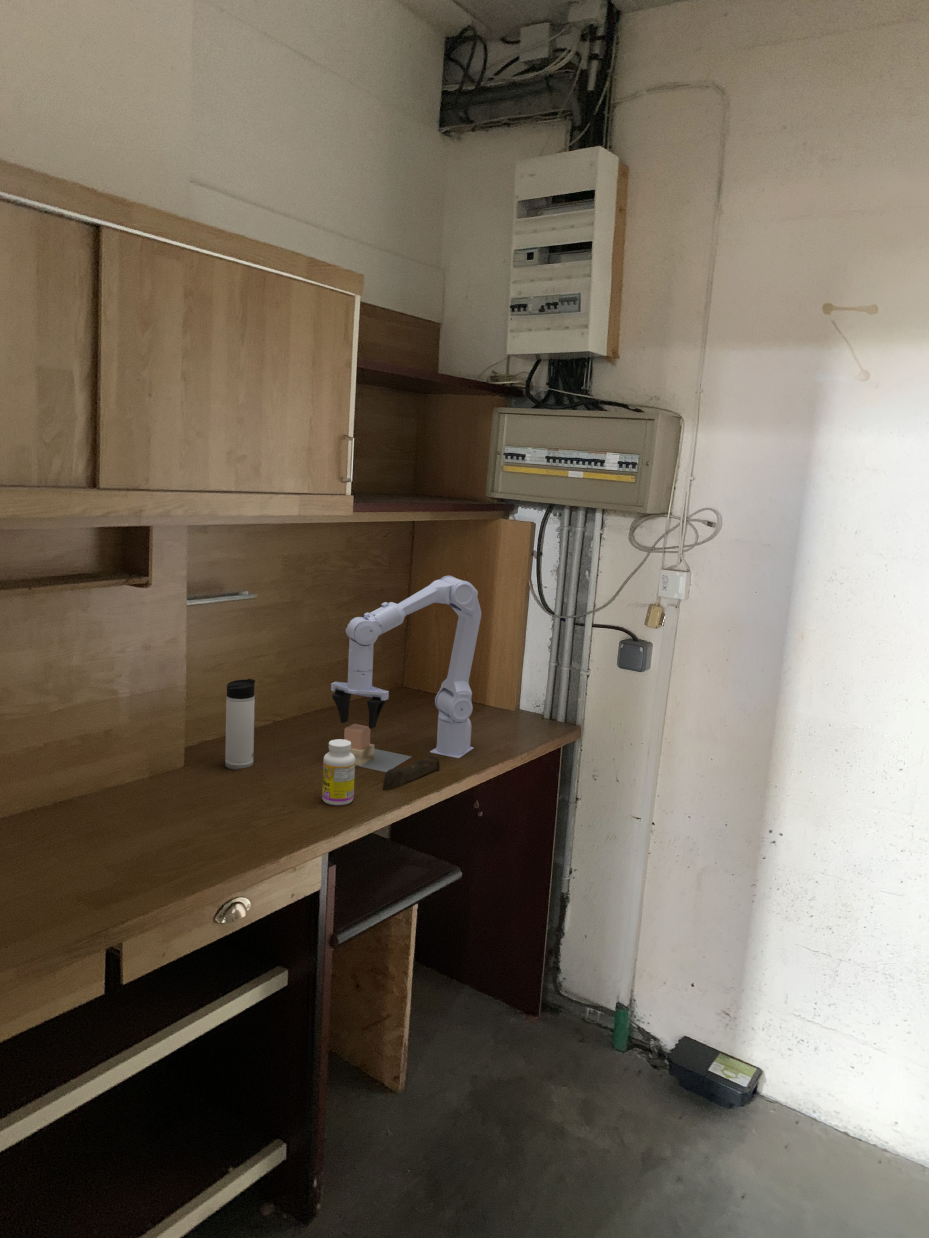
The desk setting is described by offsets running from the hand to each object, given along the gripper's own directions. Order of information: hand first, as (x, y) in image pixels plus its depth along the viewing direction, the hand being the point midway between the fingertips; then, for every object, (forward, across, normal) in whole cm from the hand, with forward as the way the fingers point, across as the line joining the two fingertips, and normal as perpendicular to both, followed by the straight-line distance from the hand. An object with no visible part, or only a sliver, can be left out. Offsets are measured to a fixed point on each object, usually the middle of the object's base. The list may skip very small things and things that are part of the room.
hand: (358, 724), depth 216 cm
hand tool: (+10, +17, -4) cm, 20 cm away
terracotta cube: (+5, 0, 0) cm, 5 cm away
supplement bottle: (+9, +9, -23) cm, 26 cm away
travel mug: (+9, -21, -17) cm, 29 cm away
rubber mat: (+9, +3, +3) cm, 10 cm away
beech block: (+9, 0, 0) cm, 9 cm away
